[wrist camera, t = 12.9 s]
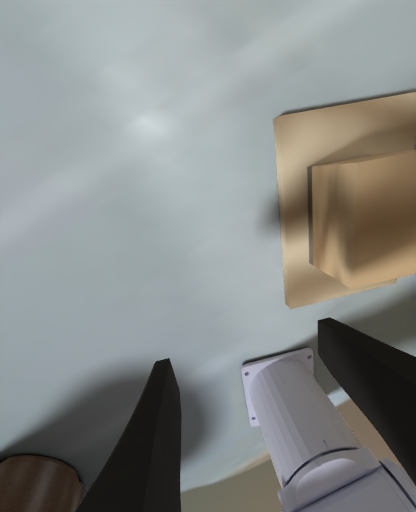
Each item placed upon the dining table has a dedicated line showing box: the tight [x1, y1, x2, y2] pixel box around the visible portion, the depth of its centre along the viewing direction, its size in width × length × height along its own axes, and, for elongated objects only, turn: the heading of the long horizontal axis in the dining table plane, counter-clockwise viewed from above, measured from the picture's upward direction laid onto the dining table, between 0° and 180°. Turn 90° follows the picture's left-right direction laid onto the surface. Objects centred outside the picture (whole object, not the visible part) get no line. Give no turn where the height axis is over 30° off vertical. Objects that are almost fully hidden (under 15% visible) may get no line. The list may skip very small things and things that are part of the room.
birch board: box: [273, 92, 416, 309], centre depth 19 cm, size 16×11×1 cm
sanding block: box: [307, 149, 416, 289], centre depth 16 cm, size 8×5×5 cm, turn 10°
